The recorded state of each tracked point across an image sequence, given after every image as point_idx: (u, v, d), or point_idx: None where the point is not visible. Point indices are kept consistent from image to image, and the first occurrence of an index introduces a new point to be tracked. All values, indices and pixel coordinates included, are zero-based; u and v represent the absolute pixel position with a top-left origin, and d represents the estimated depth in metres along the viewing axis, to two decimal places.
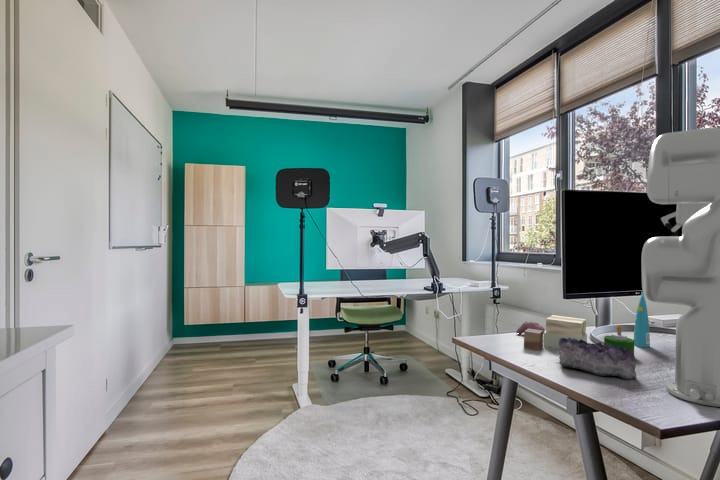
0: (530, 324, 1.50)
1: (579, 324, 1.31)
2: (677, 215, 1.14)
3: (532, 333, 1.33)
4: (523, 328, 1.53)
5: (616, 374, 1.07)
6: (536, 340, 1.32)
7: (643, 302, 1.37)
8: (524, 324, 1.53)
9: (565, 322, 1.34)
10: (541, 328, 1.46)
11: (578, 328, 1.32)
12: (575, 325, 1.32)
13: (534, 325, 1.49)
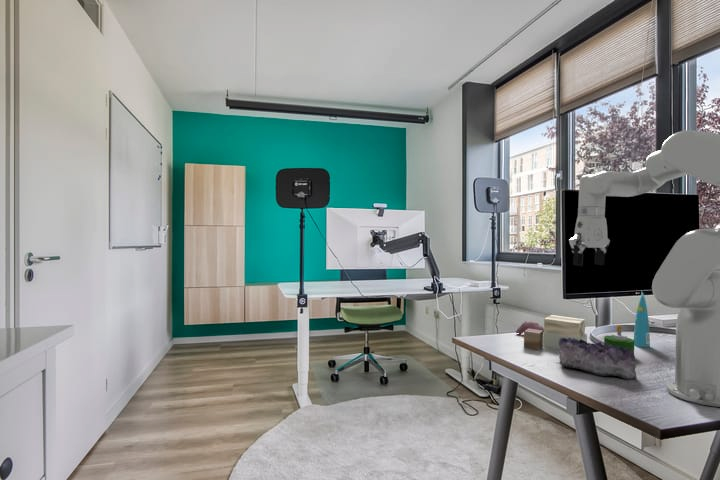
0: (530, 324, 1.50)
1: (577, 324, 1.31)
2: (586, 238, 1.23)
3: (532, 333, 1.33)
4: (523, 328, 1.53)
5: (616, 374, 1.07)
6: (536, 340, 1.32)
7: (643, 302, 1.37)
8: (524, 324, 1.53)
9: (563, 322, 1.34)
10: (541, 328, 1.46)
11: (576, 328, 1.32)
12: (573, 325, 1.32)
13: (534, 325, 1.48)
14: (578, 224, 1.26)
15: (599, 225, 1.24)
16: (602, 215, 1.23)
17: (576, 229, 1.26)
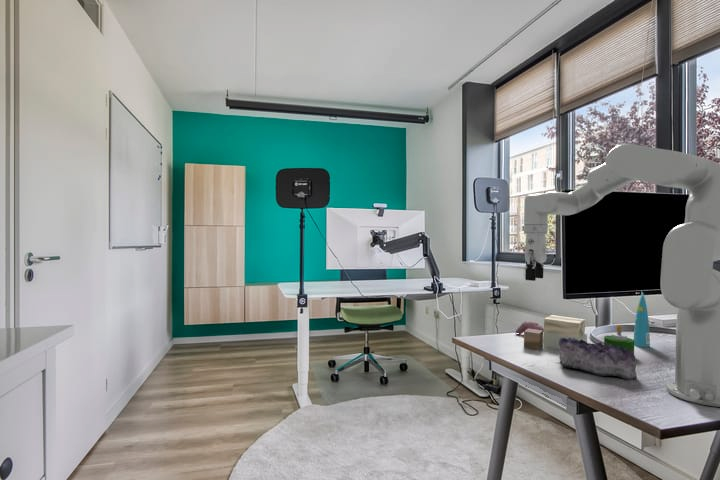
0: (529, 324, 1.50)
1: (577, 324, 1.31)
2: (538, 254, 1.30)
3: (532, 333, 1.33)
4: (522, 328, 1.53)
5: (616, 374, 1.07)
6: (536, 340, 1.32)
7: (643, 302, 1.37)
8: (523, 324, 1.53)
9: (563, 322, 1.34)
10: (540, 328, 1.46)
11: (576, 328, 1.31)
12: (573, 325, 1.32)
13: (533, 325, 1.48)
14: (528, 241, 1.32)
15: (544, 241, 1.33)
16: None
17: (527, 245, 1.32)
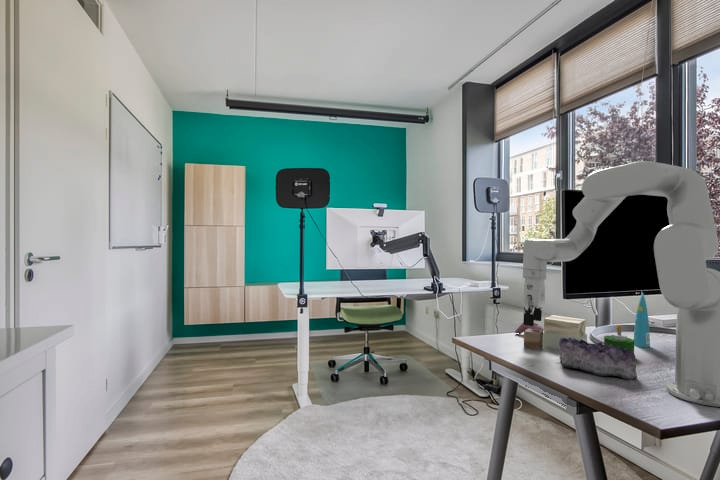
0: None
1: (576, 324, 1.31)
2: (537, 300, 1.30)
3: (532, 333, 1.33)
4: (522, 328, 1.53)
5: (617, 374, 1.07)
6: (536, 340, 1.32)
7: (643, 302, 1.37)
8: (523, 324, 1.53)
9: (563, 322, 1.34)
10: (540, 328, 1.46)
11: (575, 328, 1.31)
12: (572, 325, 1.32)
13: None
14: (527, 286, 1.33)
15: (542, 286, 1.34)
16: (545, 277, 1.33)
17: (526, 291, 1.32)
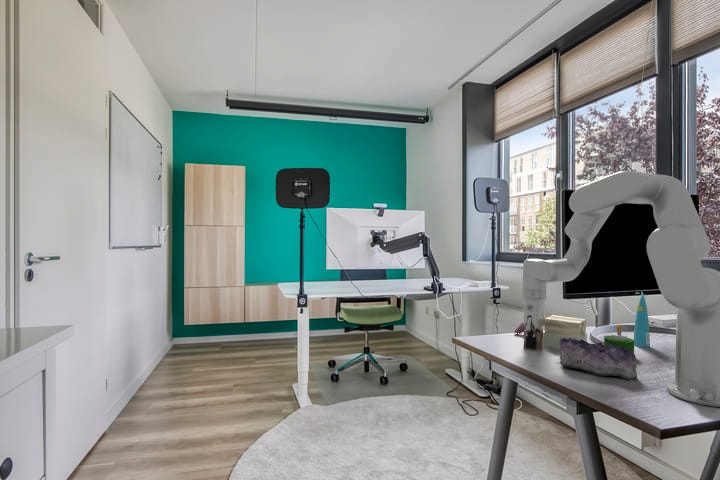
0: None
1: (577, 324, 1.31)
2: (537, 321, 1.30)
3: None
4: (521, 328, 1.52)
5: (617, 374, 1.07)
6: (536, 340, 1.32)
7: (643, 302, 1.37)
8: (522, 324, 1.52)
9: (563, 322, 1.34)
10: None
11: (576, 328, 1.31)
12: (573, 325, 1.32)
13: None
14: (527, 306, 1.32)
15: (543, 306, 1.34)
16: (545, 297, 1.33)
17: (526, 311, 1.32)
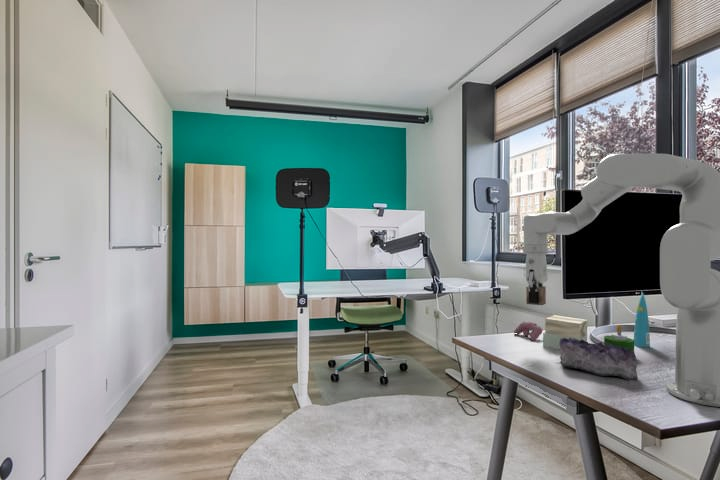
0: (528, 324, 1.49)
1: (577, 324, 1.31)
2: (539, 274, 1.29)
3: None
4: (521, 328, 1.52)
5: (617, 374, 1.07)
6: (539, 295, 1.32)
7: (643, 302, 1.37)
8: (522, 324, 1.52)
9: (564, 322, 1.34)
10: (539, 328, 1.46)
11: (576, 328, 1.31)
12: (573, 325, 1.32)
13: (532, 325, 1.48)
14: (529, 261, 1.32)
15: (544, 261, 1.33)
16: (547, 252, 1.33)
17: (528, 266, 1.32)
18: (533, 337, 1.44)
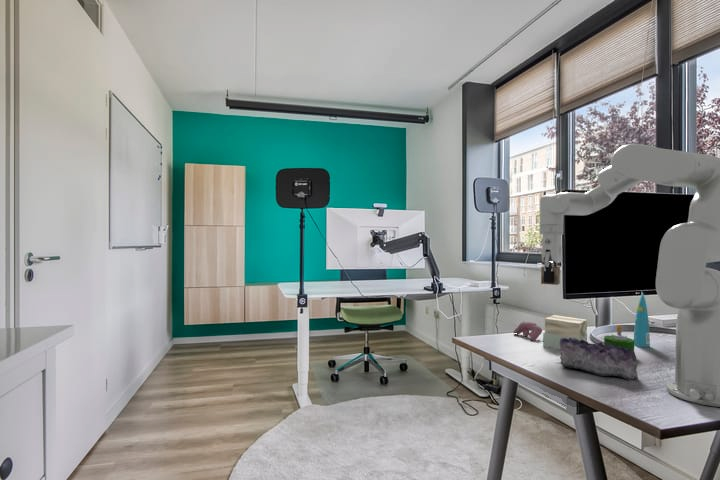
0: (527, 324, 1.49)
1: (577, 324, 1.31)
2: (555, 254, 1.31)
3: None
4: (520, 328, 1.52)
5: (618, 374, 1.07)
6: (554, 274, 1.33)
7: (643, 302, 1.37)
8: (521, 324, 1.52)
9: (563, 322, 1.34)
10: (538, 328, 1.46)
11: (576, 328, 1.31)
12: (573, 325, 1.32)
13: (531, 325, 1.48)
14: (545, 241, 1.33)
15: (560, 242, 1.35)
16: None
17: (544, 246, 1.33)
18: (533, 337, 1.44)
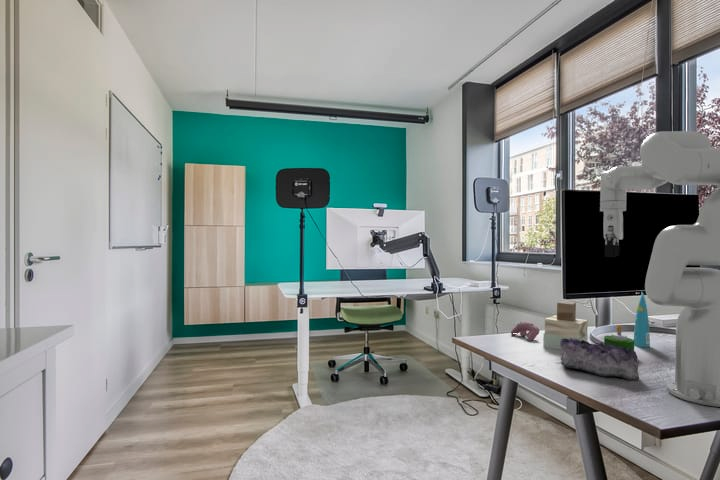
0: (525, 325, 1.49)
1: (576, 325, 1.30)
2: (619, 230, 1.28)
3: (565, 304, 1.35)
4: (518, 329, 1.52)
5: (619, 375, 1.06)
6: (570, 311, 1.34)
7: (643, 302, 1.37)
8: (519, 325, 1.52)
9: (563, 322, 1.34)
10: (536, 329, 1.45)
11: (576, 329, 1.31)
12: (573, 325, 1.31)
13: (529, 326, 1.47)
14: (607, 217, 1.31)
15: (622, 218, 1.32)
16: None
17: (606, 222, 1.30)
18: (530, 337, 1.44)
